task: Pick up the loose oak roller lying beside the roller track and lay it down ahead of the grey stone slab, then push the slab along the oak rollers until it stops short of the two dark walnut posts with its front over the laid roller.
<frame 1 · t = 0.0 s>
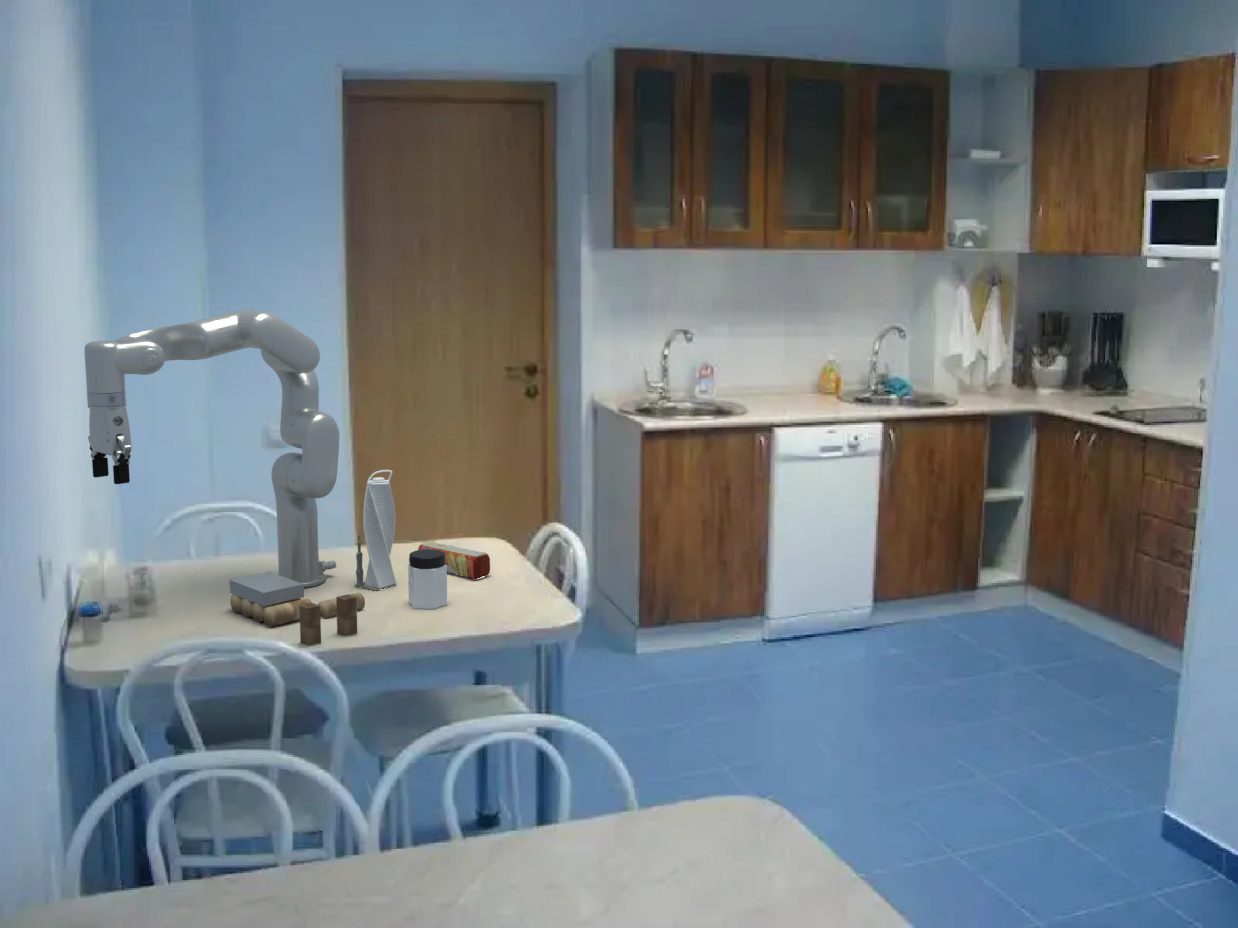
hand: (111, 479, 269), 31 cm above the table, tool pointing down, fingers open, 9 cm apart
snack package: (452, 573, 319), on the table
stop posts: (329, 637, 266), on the table
roller track: (255, 608, 285), on the table
jar: (427, 605, 291), on the table
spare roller: (341, 605, 283), point 2 cm above the table
slab: (267, 595, 281), point 4 cm above the table, touching roller track
skyscraper: (379, 586, 305), on the table
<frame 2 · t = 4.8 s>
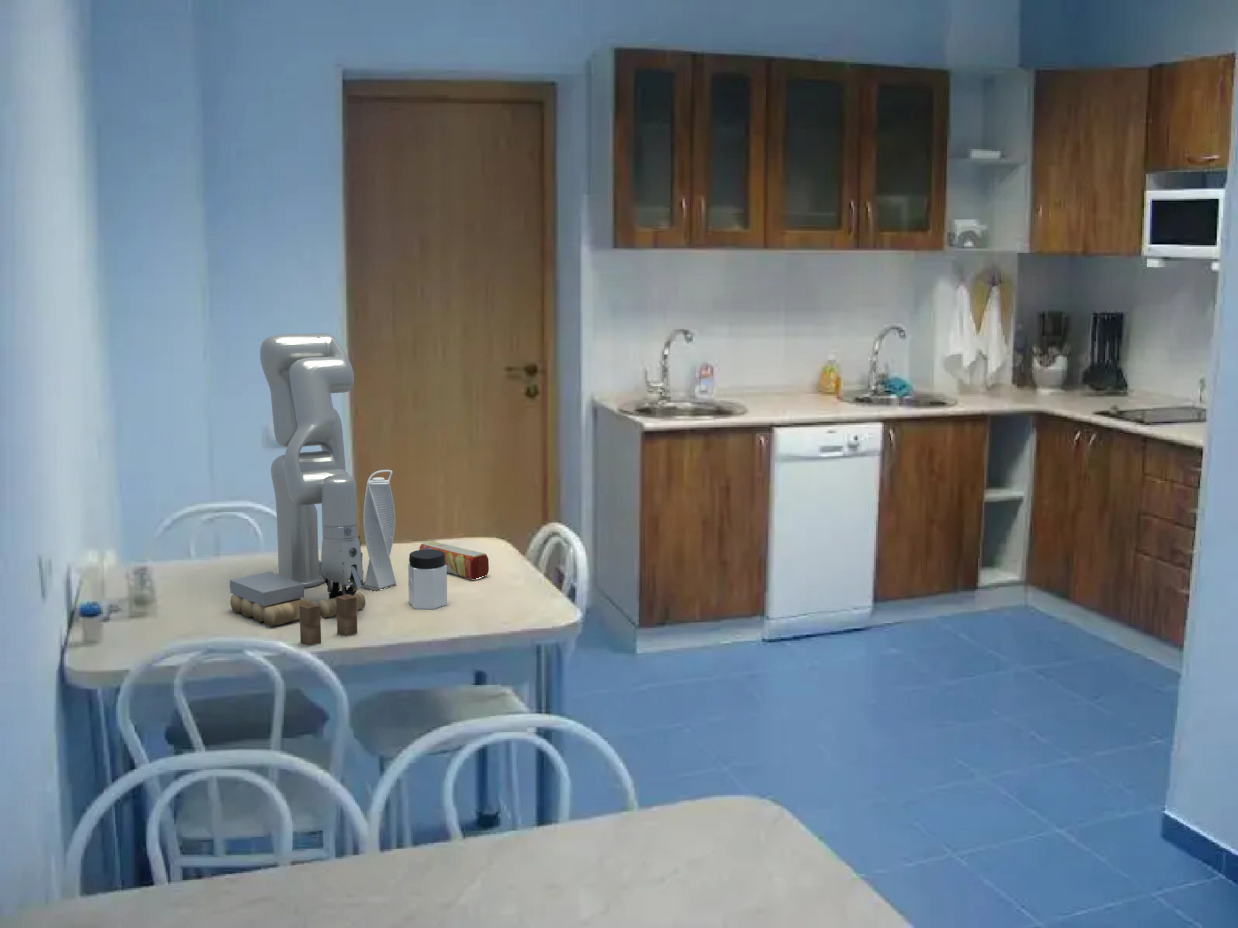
hand: (341, 610, 283), 1 cm above the table, tool pointing down, fingers closed on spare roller, 3 cm apart
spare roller: (341, 604, 283), point 2 cm above the table, touching gripper
everything else where it was.
when the fingers open (1 cm above the table, at t = 9.7 s): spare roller stays where it is, point 2 cm above the table.
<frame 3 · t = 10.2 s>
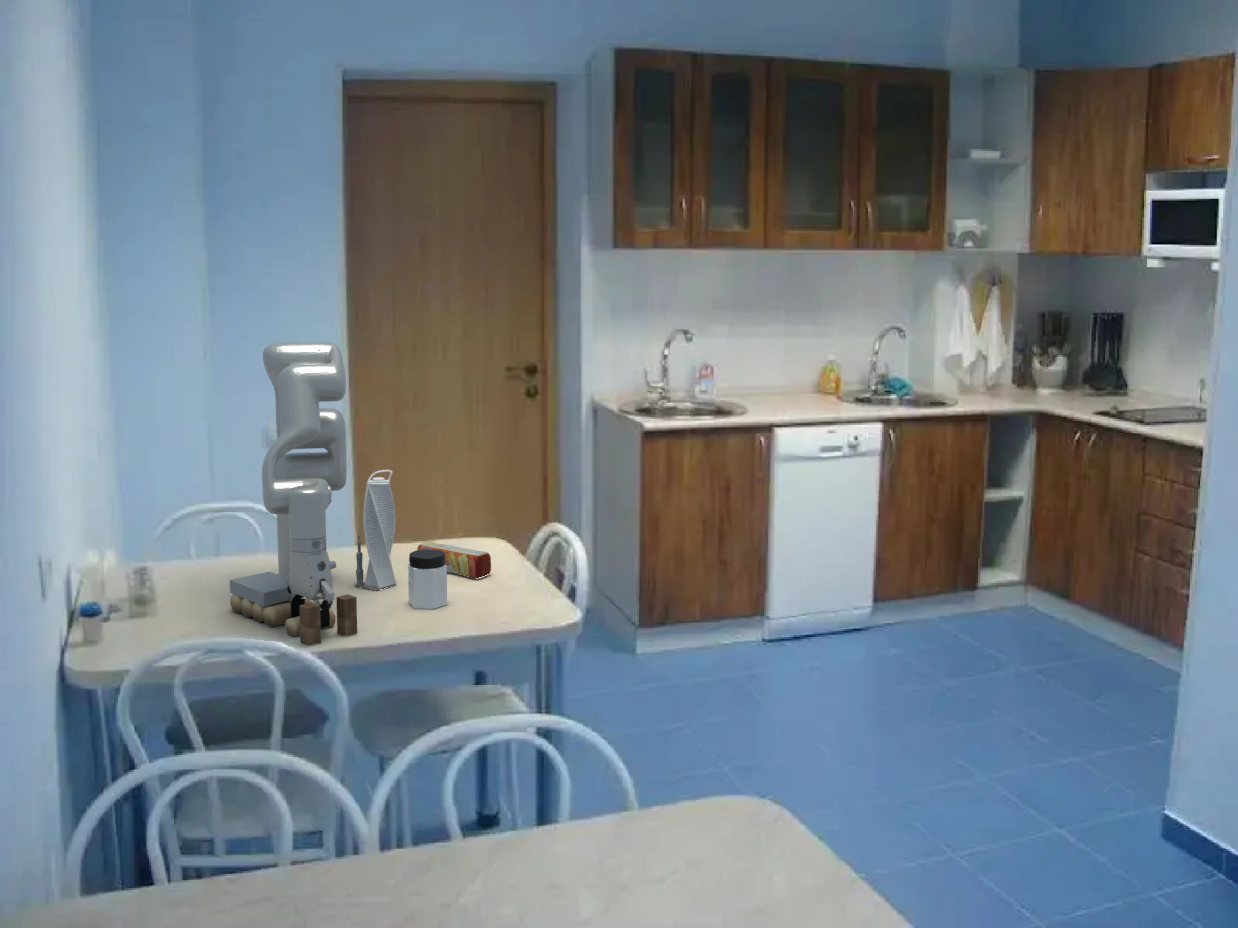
hand: (310, 622, 270), 2 cm above the table, tool pointing down, fingers open, 8 cm apart
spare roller: (310, 622, 270), point 2 cm above the table
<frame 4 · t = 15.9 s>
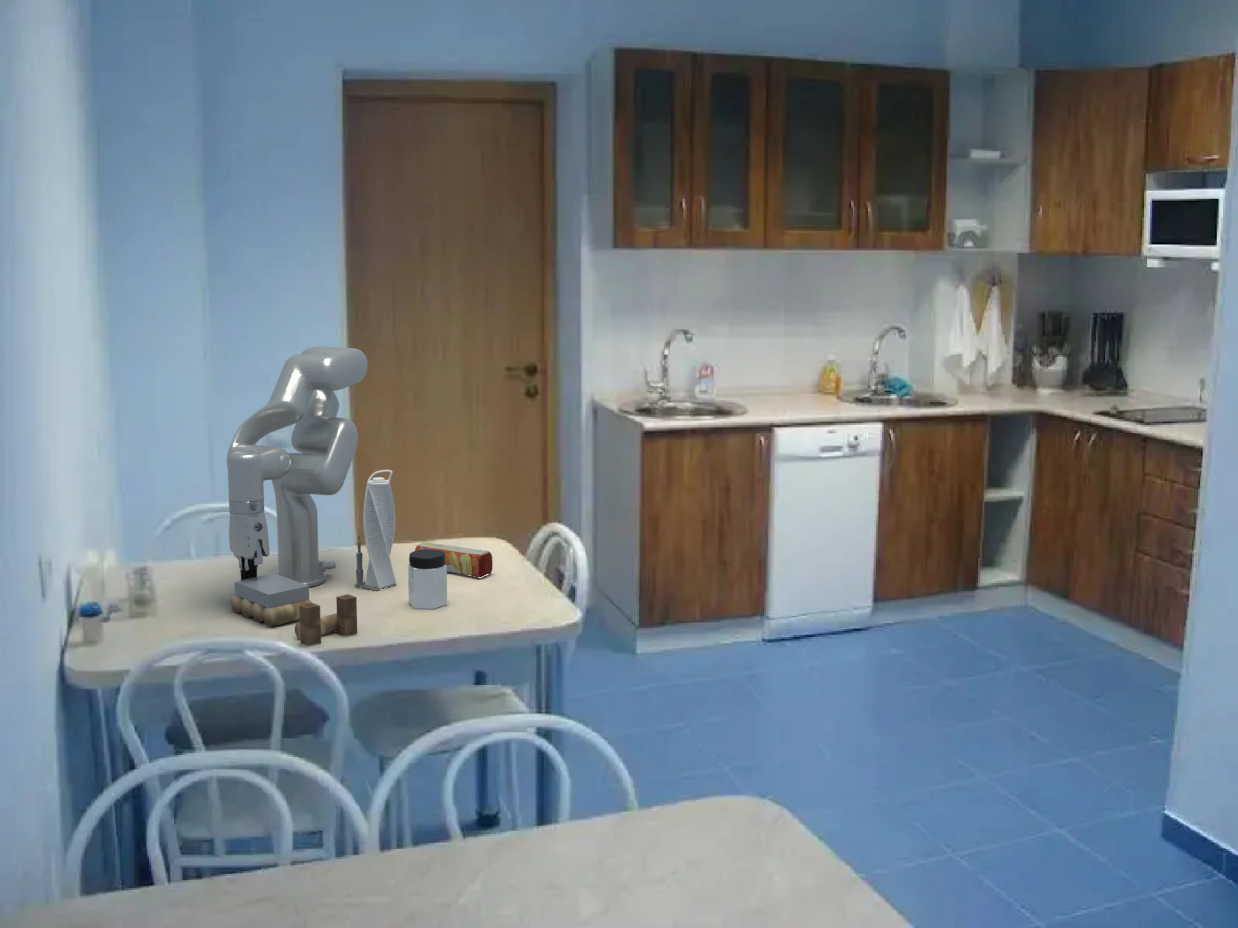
hand: (249, 586, 286), 5 cm above the table, tool pointing down, fingers closed
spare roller: (320, 626, 268), point 2 cm above the table, tilted 118°
slab: (272, 596, 280), point 4 cm above the table, touching gripper
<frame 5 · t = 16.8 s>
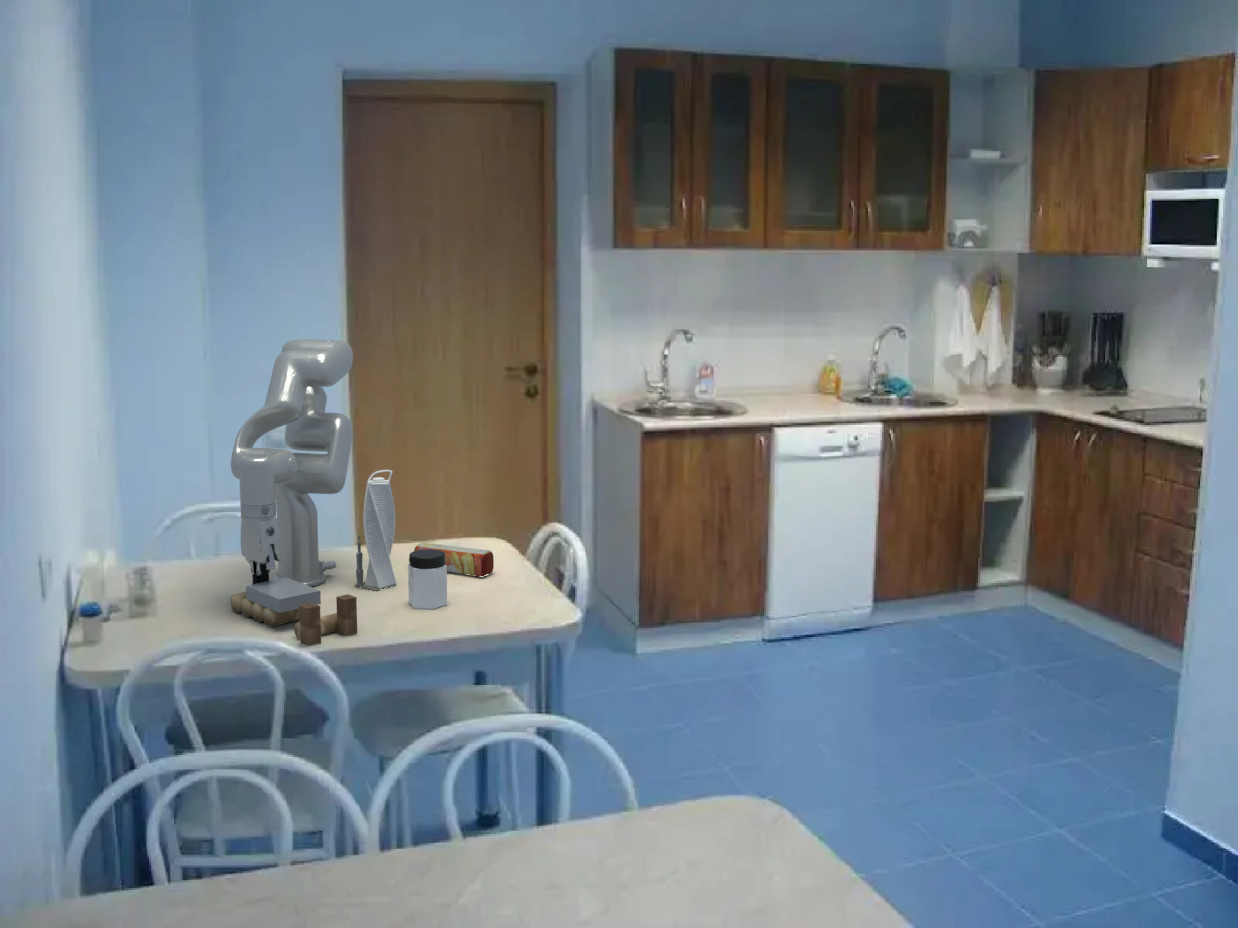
hand: (261, 590, 283), 5 cm above the table, tool pointing down, fingers closed
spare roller: (319, 626, 268), point 2 cm above the table, tilted 112°
slab: (283, 601, 277), point 4 cm above the table, touching gripper, roller track
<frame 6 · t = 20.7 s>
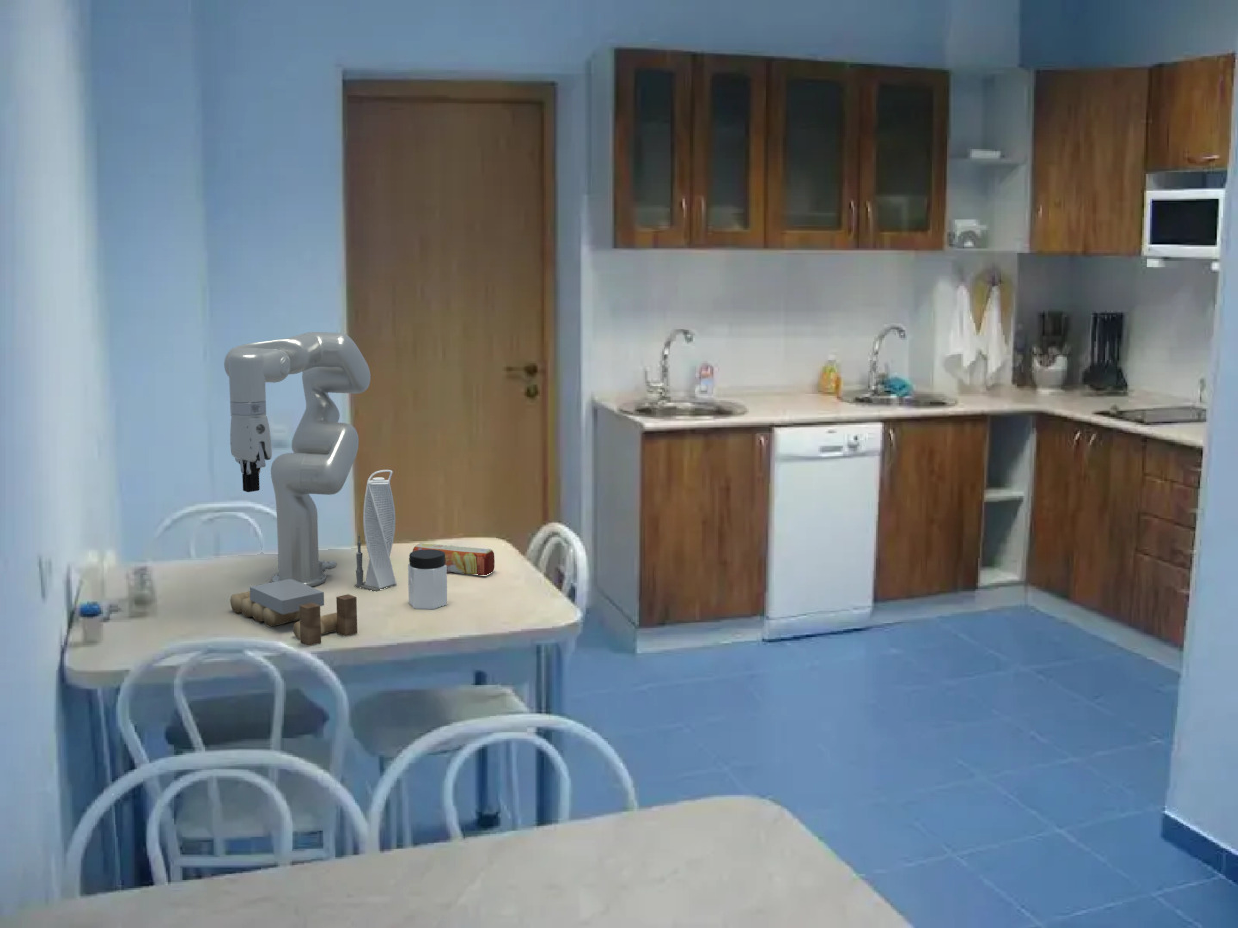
hand: (251, 490, 280), 27 cm above the table, tool pointing down, fingers closed
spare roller: (318, 626, 268), point 2 cm above the table, tilted 106°
slab: (286, 602, 276), point 4 cm above the table, touching roller track
at the end: slab inside the target area (0.6 cm from its centre), point 4.2 cm above the table; slab tilted 0°; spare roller inside the target area (2.3 cm from its centre), point 1.7 cm above the table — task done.
